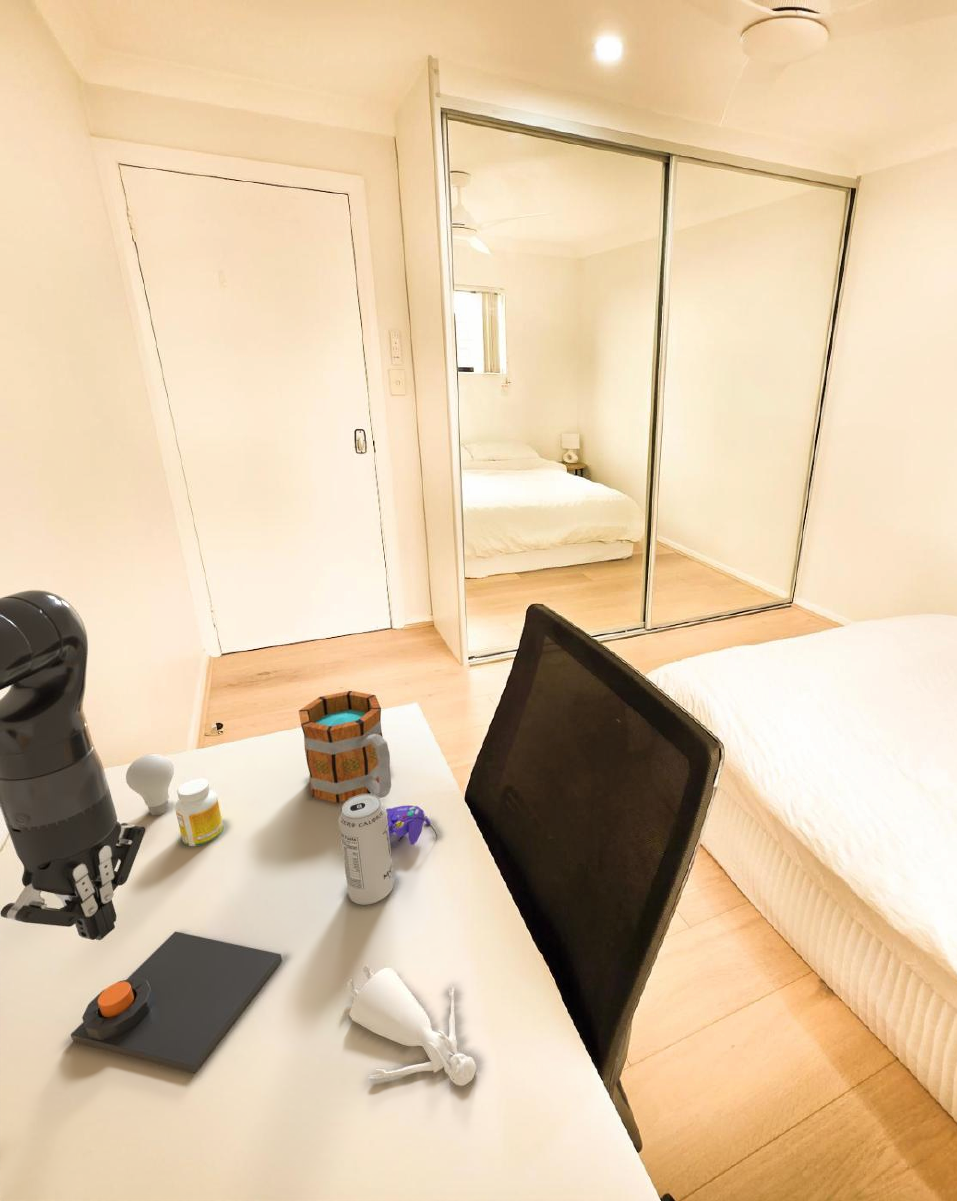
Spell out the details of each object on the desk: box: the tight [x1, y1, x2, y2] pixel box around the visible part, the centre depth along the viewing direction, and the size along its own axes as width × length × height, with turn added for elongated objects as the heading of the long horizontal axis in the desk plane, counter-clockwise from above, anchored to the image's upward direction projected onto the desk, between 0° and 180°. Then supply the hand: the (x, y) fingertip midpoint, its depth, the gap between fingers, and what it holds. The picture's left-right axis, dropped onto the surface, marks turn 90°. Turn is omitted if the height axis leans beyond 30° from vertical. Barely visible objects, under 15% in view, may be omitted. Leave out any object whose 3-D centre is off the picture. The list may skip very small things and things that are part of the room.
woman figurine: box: [346, 964, 477, 1087], centre depth 65 cm, size 12×4×18 cm
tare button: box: [98, 981, 134, 1018], centre depth 64 cm, size 3×3×2 cm
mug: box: [298, 690, 392, 804], centre depth 102 cm, size 20×14×15 cm
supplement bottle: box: [174, 778, 224, 847], centre depth 91 cm, size 5×5×10 cm
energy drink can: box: [337, 793, 395, 906], centre depth 81 cm, size 6×6×15 cm
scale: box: [70, 931, 283, 1074], centre depth 67 cm, size 15×13×4 cm
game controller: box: [386, 804, 438, 845], centre depth 92 cm, size 10×8×10 cm
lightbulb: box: [125, 753, 175, 816], centre depth 95 cm, size 6×6×11 cm
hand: (100, 933), depth 62 cm, fingers closed
